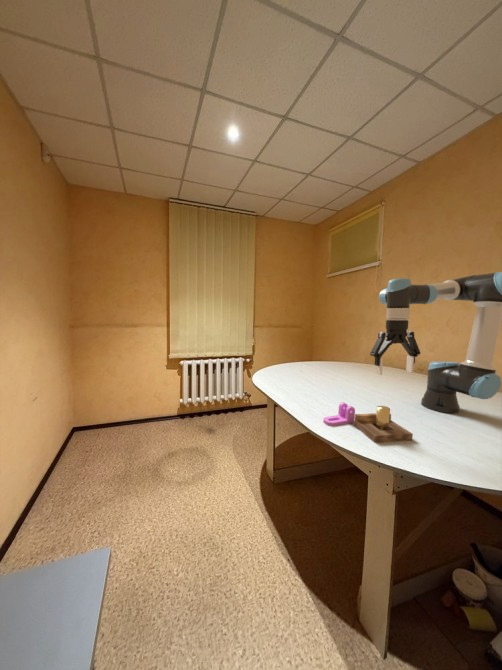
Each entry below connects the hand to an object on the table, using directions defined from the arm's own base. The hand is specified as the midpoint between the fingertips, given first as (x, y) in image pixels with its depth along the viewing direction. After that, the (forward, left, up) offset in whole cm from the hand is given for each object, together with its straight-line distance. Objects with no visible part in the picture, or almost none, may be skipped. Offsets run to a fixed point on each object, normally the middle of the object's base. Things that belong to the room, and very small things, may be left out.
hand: (394, 373), depth 97 cm
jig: (+6, +4, -23) cm, 24 cm away
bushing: (+6, +4, -23) cm, 24 cm away
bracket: (+19, -7, -23) cm, 31 cm away
